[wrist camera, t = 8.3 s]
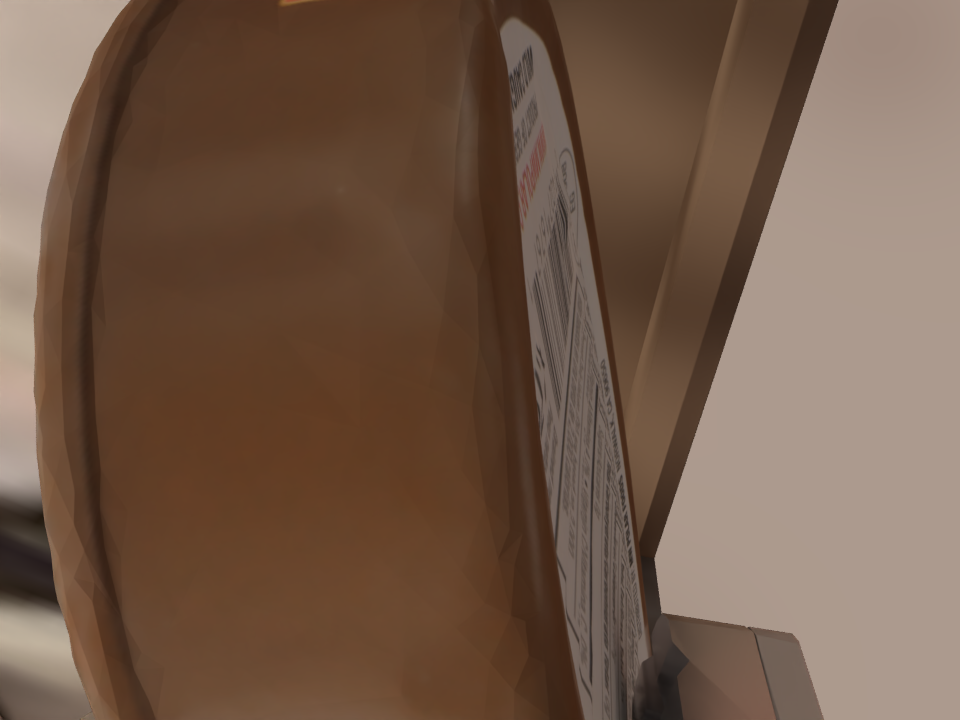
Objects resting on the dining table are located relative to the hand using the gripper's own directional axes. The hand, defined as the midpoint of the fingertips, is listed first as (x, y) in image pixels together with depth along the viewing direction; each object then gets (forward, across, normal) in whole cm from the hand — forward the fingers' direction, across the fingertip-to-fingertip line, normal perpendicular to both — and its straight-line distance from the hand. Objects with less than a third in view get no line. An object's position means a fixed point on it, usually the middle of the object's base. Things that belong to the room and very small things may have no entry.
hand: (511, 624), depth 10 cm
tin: (+4, -1, 0) cm, 4 cm away
